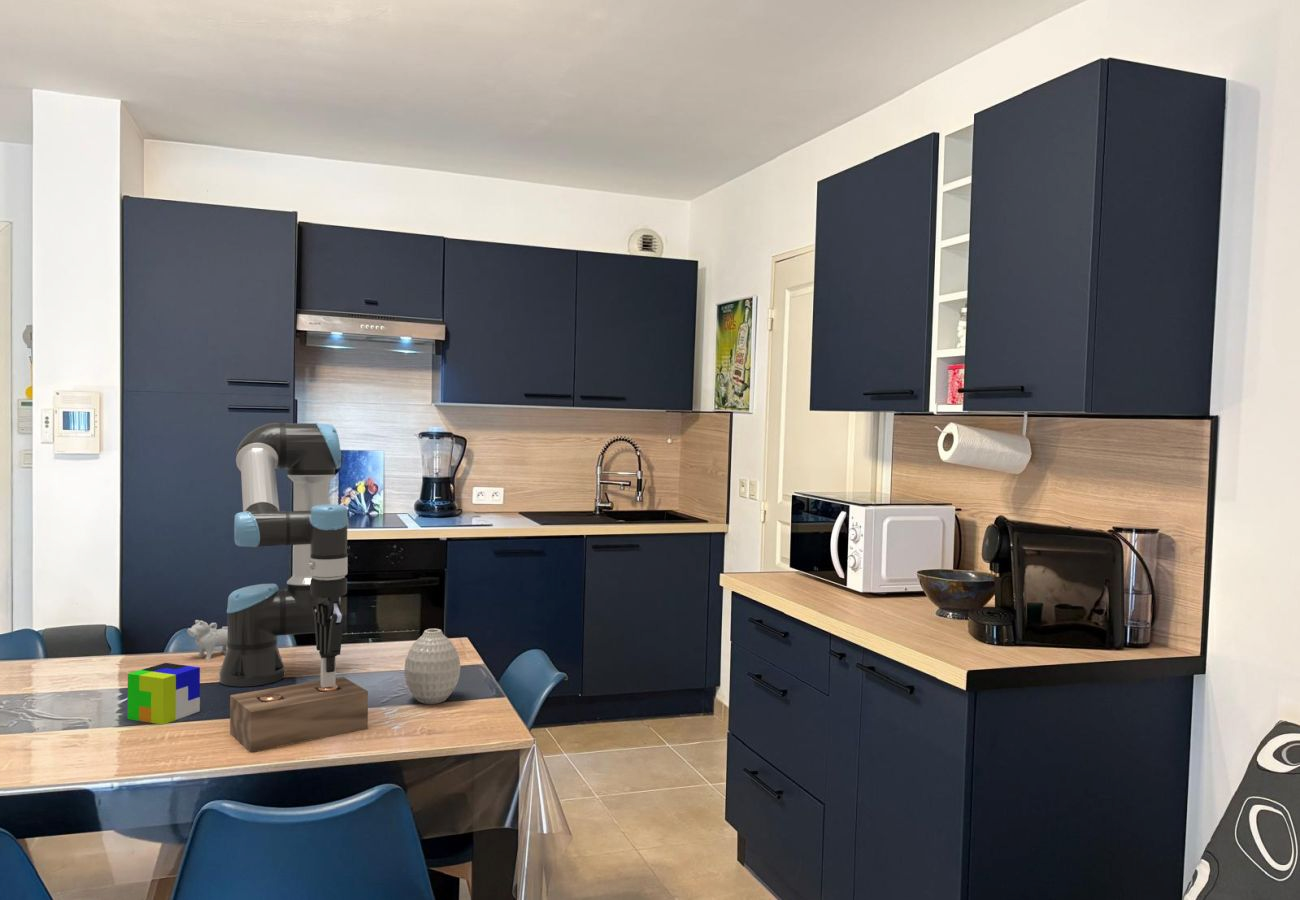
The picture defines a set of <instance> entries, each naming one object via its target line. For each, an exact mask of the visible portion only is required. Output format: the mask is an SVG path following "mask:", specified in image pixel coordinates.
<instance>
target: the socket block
mask: <svg viewBox="0 0 1300 900" xmlns="http://www.w3.org/2000/svg"><path fill="white" fill-rule="evenodd" d="M336 685H337V686H338V690H334V691H328V692H323V693H321V692H319V691H318V687H319V686H321V679H320V680H313V681H308V682H301V683H297V684H296V683H295V684H291V685H285V686H284V685H283V686H278V687H273V688H272V687H271V688H265V689H260V690H259V689H258V690H254V691H248V692H242V693H236V694H231V695H229V697H230V698H229V734H230V736H233V738H234V739H236V741H238V742H239V743H240V744H241V745H242V746H243V747H244V748H245V749H246V748H247V749H246V750H247V751H248V752H249V753H253V752H257V751H258V752H259V751H263V750H267V749H274V748H278V747H277V746H279V747H283V746H282V745H284V746H288V745H292V744H291V743H293V744H297V742H298V743H301V742H306V741H312V740H317V739H322V738H326V737H332V736H336V735H341V734H342V735H343V734H347V733H351V732H356V731H361V730H366V729H369V726H368V724H369V723H368V721H369V718H368V717H369V716H368V715H369V714H368V713H369V710H368V709H369V696H368V695H369V691H368V690H366V689H365V688H363V687H361V686H360V685H358V684H356V683H355V682H353V681H351V680H349V679H348V678H346V677H344V676H339V677H336ZM267 694H279V695H281V700H277V701H271V702H265V703H262V702H261V701H260V697H261V696H263V695H267ZM287 744H288V745H287ZM273 747H274V748H273Z"/></svg>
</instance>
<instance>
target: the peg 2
mask: <svg viewBox="0 0 1300 900" xmlns="http://www.w3.org/2000/svg"><path fill="white" fill-rule="evenodd" d="M334 690H338V686H337V685H336V686H331V687H325V688H323V687H321V686H319V687H318V691H319V692H321V693H323V692H328V691H334Z"/></svg>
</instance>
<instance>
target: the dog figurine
mask: <svg viewBox="0 0 1300 900" xmlns="http://www.w3.org/2000/svg"><path fill="white" fill-rule="evenodd" d="M194 622H195V624H193V625H192V626H191V627H188V628H187V629H186V632H187V634H188V635H189V636H190V637H192V638H195V644H196V645H197V647H199V654H198V656H197V658H203V657H204V655H205V652H206V656H205V660H206V661H207V660H212V659H211V658H212V655H213V650H214V648H216V647H217V648H218V647H222V648H221V651H220V653H222V654H226V653H227V634H228V625H227V626H222V627H221V628H219V629H217V628H218V624H217V622H211V623H210V624H208V623H207V622H206V621H203V620H199V619H196V620H194Z"/></svg>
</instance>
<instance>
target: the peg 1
mask: <svg viewBox="0 0 1300 900" xmlns="http://www.w3.org/2000/svg"><path fill="white" fill-rule="evenodd" d="M277 700H281V695H279V694H267V695H263V696H261V697H260V701H261V702H262V703H265V702H271V701H277Z"/></svg>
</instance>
